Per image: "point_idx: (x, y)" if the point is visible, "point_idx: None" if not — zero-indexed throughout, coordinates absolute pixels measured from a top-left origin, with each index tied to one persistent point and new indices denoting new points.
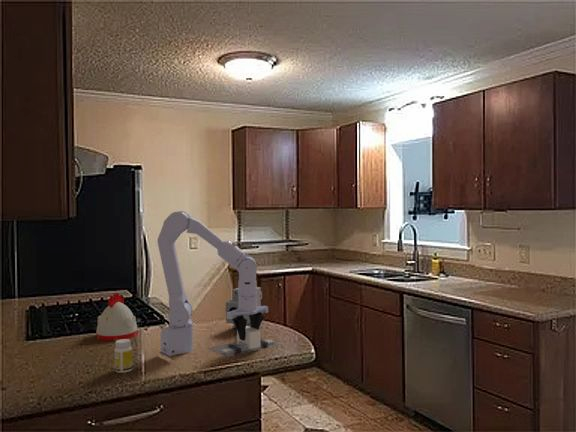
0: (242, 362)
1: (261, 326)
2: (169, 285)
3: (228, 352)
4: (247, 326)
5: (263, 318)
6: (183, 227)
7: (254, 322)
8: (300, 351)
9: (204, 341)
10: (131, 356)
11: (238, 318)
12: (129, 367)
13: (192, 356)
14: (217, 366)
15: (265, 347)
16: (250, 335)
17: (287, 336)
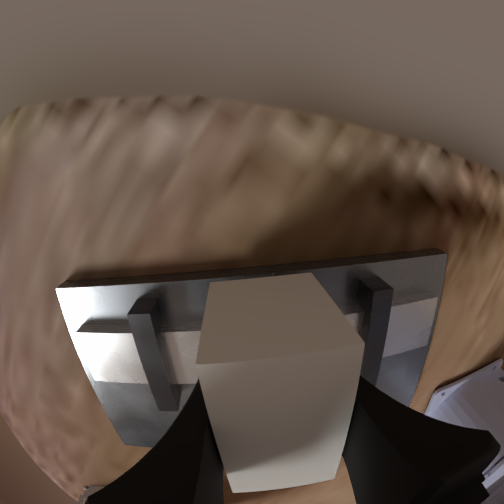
0: (407, 161)
1: (85, 489)
2: None
3: (426, 296)
4: (240, 486)
5: (94, 493)
6: None
7: (212, 493)
8: (18, 147)
9: (320, 483)
10: None
11: (472, 489)
12: None
13: (462, 366)
14: (491, 197)
15: (160, 289)
16: (343, 324)
17: (13, 388)
